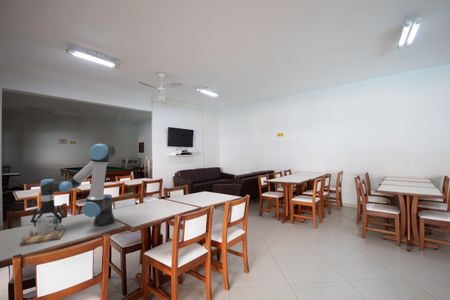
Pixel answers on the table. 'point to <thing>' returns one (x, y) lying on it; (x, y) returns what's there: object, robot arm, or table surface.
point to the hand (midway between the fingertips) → (48, 229)
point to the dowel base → (42, 237)
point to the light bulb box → (47, 224)
